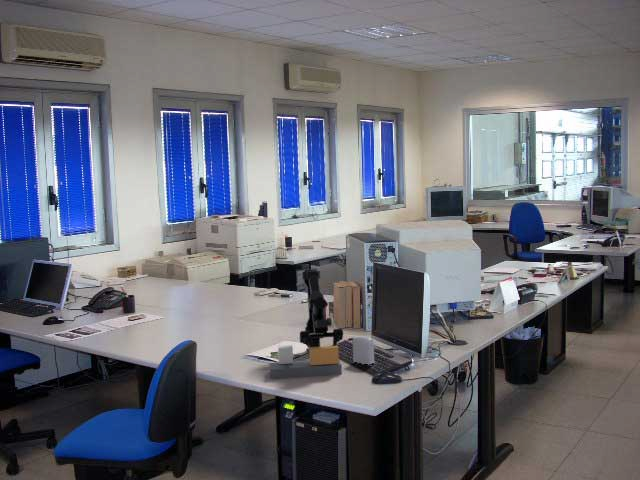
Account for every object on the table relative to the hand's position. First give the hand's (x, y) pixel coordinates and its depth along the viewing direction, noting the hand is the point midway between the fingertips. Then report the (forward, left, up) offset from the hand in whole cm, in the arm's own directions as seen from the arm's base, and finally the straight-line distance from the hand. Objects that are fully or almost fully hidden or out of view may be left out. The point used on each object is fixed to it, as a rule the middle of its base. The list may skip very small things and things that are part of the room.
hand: (323, 352), depth 293 cm
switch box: (-2, -8, -9) cm, 12 cm away
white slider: (-6, -15, -5) cm, 17 cm away
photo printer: (-6, +20, -9) cm, 23 cm away
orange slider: (+2, 0, -5) cm, 5 cm away
